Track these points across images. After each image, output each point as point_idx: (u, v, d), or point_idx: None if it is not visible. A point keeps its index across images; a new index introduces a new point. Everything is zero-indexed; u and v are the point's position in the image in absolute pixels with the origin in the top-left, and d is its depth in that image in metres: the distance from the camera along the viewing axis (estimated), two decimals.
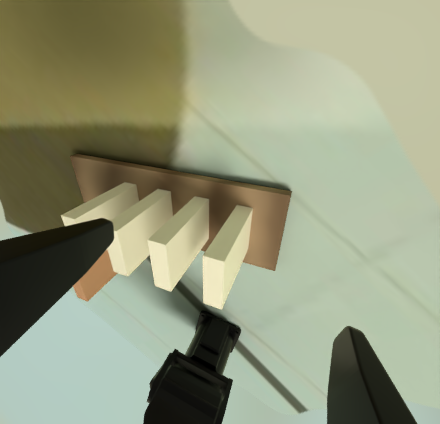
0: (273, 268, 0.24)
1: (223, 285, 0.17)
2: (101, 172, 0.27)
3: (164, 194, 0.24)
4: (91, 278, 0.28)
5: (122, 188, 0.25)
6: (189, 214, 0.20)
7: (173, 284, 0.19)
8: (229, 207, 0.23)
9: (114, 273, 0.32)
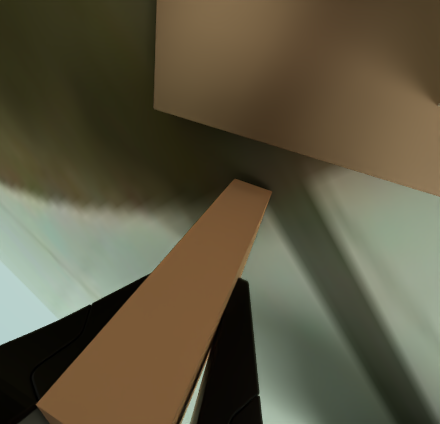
0: None
1: None
2: None
3: None
4: (185, 406, 0.05)
5: None
6: None
7: None
8: None
9: None
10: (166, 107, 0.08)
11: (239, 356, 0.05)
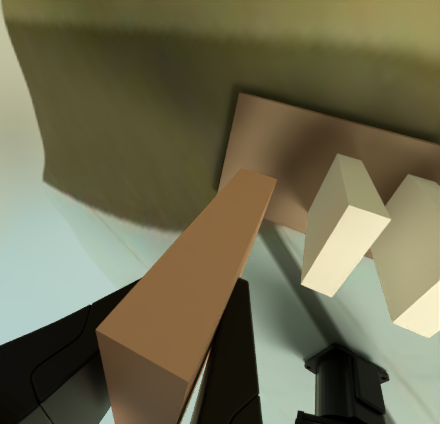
0: None
1: None
2: (294, 130, 0.16)
3: (437, 186, 0.14)
4: (204, 359, 0.06)
5: (353, 163, 0.14)
6: None
7: None
8: None
9: None
10: None
11: (239, 356, 0.05)
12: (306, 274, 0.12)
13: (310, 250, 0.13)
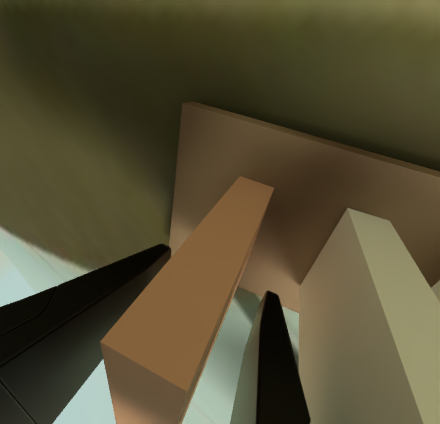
0: None
1: None
2: (275, 166, 0.09)
3: None
4: (202, 366, 0.06)
5: (381, 235, 0.08)
6: None
7: None
8: None
9: None
10: None
11: (284, 379, 0.05)
12: None
13: None
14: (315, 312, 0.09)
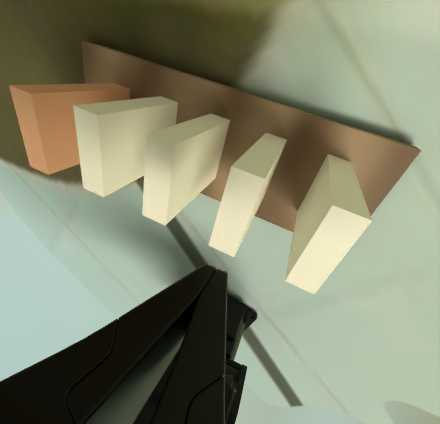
0: None
1: (339, 259, 0.11)
2: (127, 75, 0.18)
3: (223, 121, 0.17)
4: (61, 131, 0.15)
5: (160, 100, 0.17)
6: (272, 149, 0.14)
7: (238, 246, 0.13)
8: (315, 156, 0.16)
9: None
10: None
11: (209, 340, 0.05)
12: (83, 177, 0.14)
13: None
14: None
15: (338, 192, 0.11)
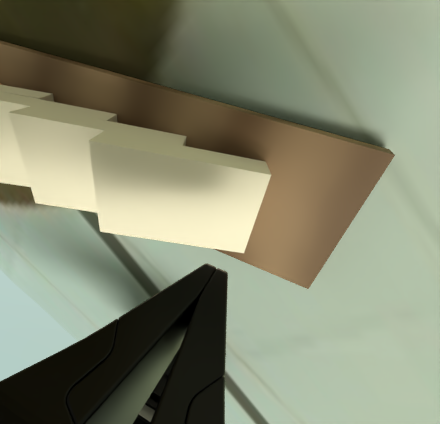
0: (307, 284, 0.14)
1: (98, 191, 0.11)
2: (24, 73, 0.15)
3: (91, 116, 0.12)
4: None
5: (18, 91, 0.14)
6: (113, 129, 0.11)
7: (43, 198, 0.13)
8: None
9: None
10: None
11: (209, 340, 0.05)
12: None
13: None
14: None
15: (137, 139, 0.11)
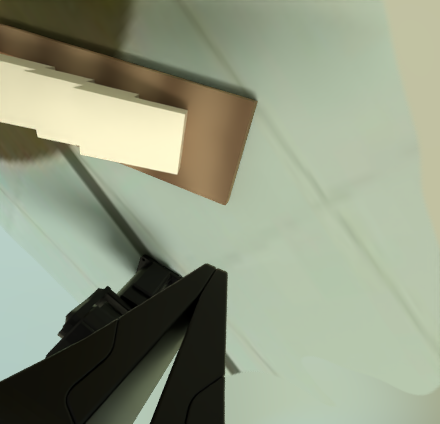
0: (224, 202, 0.21)
1: (78, 123, 0.17)
2: (30, 51, 0.21)
3: (75, 78, 0.19)
4: None
5: (31, 63, 0.20)
6: (88, 85, 0.18)
7: (42, 133, 0.20)
8: None
9: None
10: None
11: (209, 340, 0.05)
12: None
13: None
14: None
15: (103, 91, 0.17)
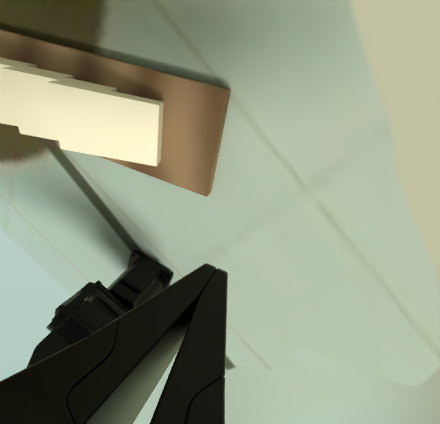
0: (205, 193, 0.21)
1: (56, 117, 0.18)
2: (13, 50, 0.21)
3: (54, 74, 0.19)
4: None
5: (13, 61, 0.20)
6: (66, 80, 0.18)
7: (24, 129, 0.20)
8: None
9: None
10: None
11: (209, 341, 0.05)
12: None
13: None
14: None
15: (79, 85, 0.18)
